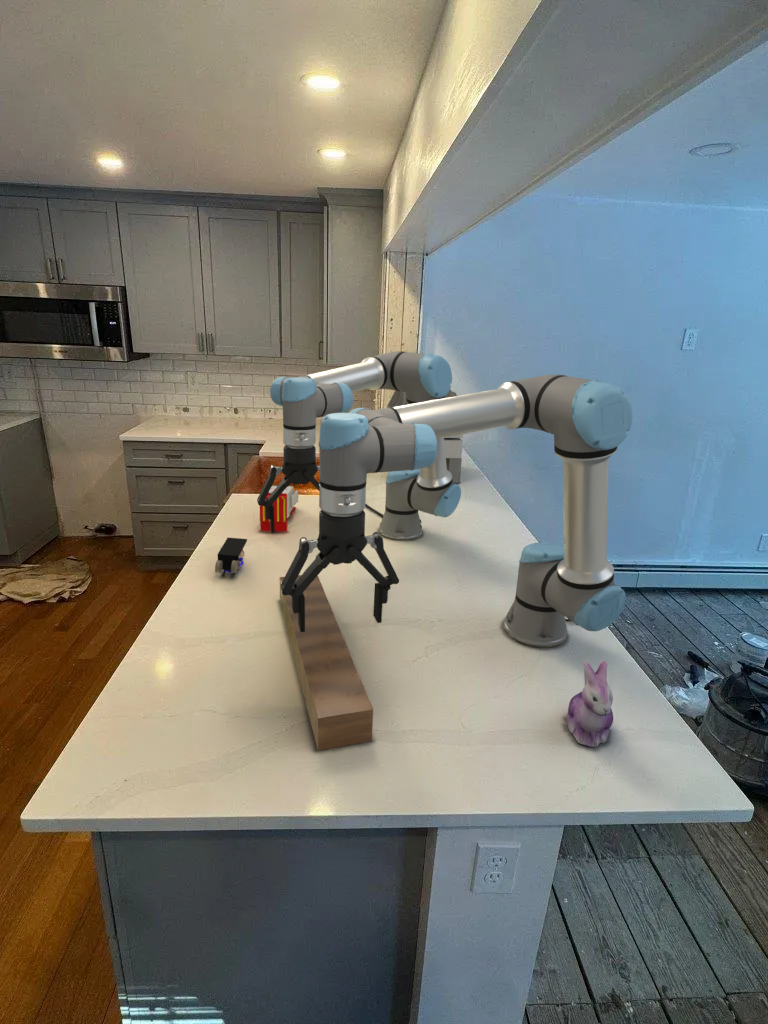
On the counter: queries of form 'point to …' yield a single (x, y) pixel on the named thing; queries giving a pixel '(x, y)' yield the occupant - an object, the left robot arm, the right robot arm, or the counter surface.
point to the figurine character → (230, 556)
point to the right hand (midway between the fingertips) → (340, 623)
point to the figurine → (591, 708)
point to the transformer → (451, 443)
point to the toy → (280, 509)
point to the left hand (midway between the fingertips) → (300, 529)
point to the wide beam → (327, 673)
